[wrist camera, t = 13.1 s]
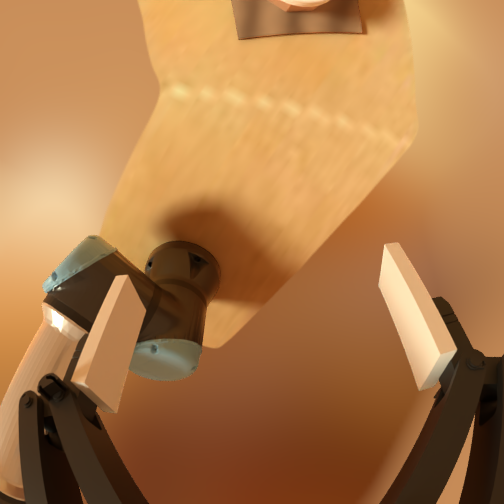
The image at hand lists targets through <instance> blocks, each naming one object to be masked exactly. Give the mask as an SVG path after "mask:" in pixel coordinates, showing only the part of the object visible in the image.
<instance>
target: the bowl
mask: <svg viewBox="0 0 504 504" xmlns="http://www.w3.org/2000/svg"><path fill="white" fill-rule="evenodd" d="M268 1H270V2H271V3H273V4H274V5H276V6H278V7H279V8H281V9H282V10H284V11H285V12H294V11H313V10H314V9H315V8H316V7H318V6H319V5H318V6H313V7H301V6H295V5H291V4H288V3H285V2H283V1H281V0H268Z"/></svg>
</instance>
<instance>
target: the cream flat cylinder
mask: <svg viewBox="0 0 504 504" xmlns="http://www.w3.org/2000/svg"><path fill="white" fill-rule="evenodd" d="M281 1H283V2H285V3H288V4H291V5H295V6H301V7H313V6H318V5H322V4H324V3H327V2H328V1H330V0H281Z"/></svg>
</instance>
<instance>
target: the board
mask: <svg viewBox="0 0 504 504" xmlns="http://www.w3.org/2000/svg"><path fill="white" fill-rule="evenodd" d="M231 1H232V6H233V12H234V17H235V23H236V29H237V34H238V39H239V40H240V39H247V38H255V37H263V36H273V35H284V34H299V33H362V26H361V19H360V12H359V6H358V0H330V1H328V2H327V3H324V4H322V5H319V6H318V7H316V8H315V9H314V10H313V11H294V12H285V11H284V10H282V9H281V8H279V7H278V6H276V5H274V4H273V3H271V2H270V1H268V0H231Z"/></svg>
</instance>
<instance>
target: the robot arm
mask: <svg viewBox="0 0 504 504" xmlns="http://www.w3.org/2000/svg"><path fill="white" fill-rule="evenodd" d="M117 250H118V249H117V248H114V247H112V246H111V245H110V244H108V243H107V242H106V241H105V240H103V239H102V238H101V237H99V236H97V235H90V236H88V237H86V238H85V239H84V240H83V241H82V242H81V243H80V244H79V245H78V246H77V247H76V248H75V249H74V250H73V251H72V252H71V253H70V254H69V255H68V256H67V257H66V258H65V259H64V260H63V262H62V263H61V264H60V265H59V266H58V267H57V268H56V269H55V271H54V272H53V273H52V274H51V275H50V276H49V277H48V278H47V279H46V281H45V282H44V283H43V285H42V288H43V289H44V292H45V293H48V295H47V296H46V298H45V299H44V301H43V302H42V309H43V314H44V321H43V322H42V324H41V326H40V328H39V329H38V331H37V333H36V335H35V337H34V338H33V340H32V342H31V344H30V346H29V347H28V350H27V351H26V353H25V355H24V357H23V359H22V361H21V363H20V365H19V367H18V369H17V371H16V373H15V375H14V377H13V379H12V381H11V383H10V386H9V388H8V390H7V392H6V394H5V397H4V399H3V401H2V404H1V406H0V504H83V501H82V497H81V493H80V489H81V491H82V493H83V495H84V497H85V499H86V501H87V503H88V504H149V503H148V502H147V500H146V499H145V497H144V496H143V494H142V493H141V491H140V489H139V488H138V486H137V485H136V483H135V482H134V480H133V478H132V477H131V475H130V473H129V472H128V470H127V468H126V467H125V465H124V463H123V461H122V460H121V458H120V456H119V454H118V452H117V450H116V449H115V447H114V445H113V443H112V441H111V439H110V437H109V435H108V433H107V431H106V429H105V427H104V425H103V423H102V421H101V419H100V416H99V415H98V413H97V412H96V408H97V406H98V407H99V408H100V409H101V410H102V411H104V412H110V413H117V411H118V407H119V403H120V399H121V394H122V391H123V387H124V383H125V380H126V376H127V372H128V369H129V370H131V371H132V372H133V373H135V374H137V375H139V376H142V377H145V378H148V379H152V380H159V381H175V380H180V379H184V378H186V377H188V376H190V375H191V374H193V373H194V372H195V371H196V369H197V367H198V363H199V358H200V355H201V353H202V342H203V334H204V326H205V318H206V310H207V306H208V305H209V303H210V302H211V300H212V299H213V297H214V296H215V294H216V293H217V291H218V288H219V284H220V268H219V265H218V263H217V261H216V260H215V258H214V257H213V256H212V255H211V254H210V253H209V252H208V251H206V250H205V249H203V248H202V247H200V246H198V245H195V244H192V243H189V242H183V241H173V242H168V243H165V244H162V245H160V246H158V247H157V248H156V249H155V250H153V252H152V253H151V254H150V256H149V258H148V261H147V263H146V266H145V274H144V273H143V272H142V271H140V270H139V269H138V268H137V267H136V266H134V265H133V264H132V263H131V262H130V261H129V260H128V259H126V258H125V257H124V256H123V255H122V254H121V253H120V252H119V251H117ZM378 286H379V288H380V290H381V293H382V295H383V297H384V299H385V302H386V304H387V306H388V309H389V311H390V314H391V316H392V319H393V321H394V324H395V326H396V329H397V331H398V334H399V336H400V339H401V341H402V344H403V347H404V350H405V352H406V355H407V358H408V361H409V363H410V366H411V369H412V372H413V374H414V378H415V381H416V384H417V387H418V390H419V391H421V390H424V389H427V388H430V387H434V386H435V384H436V383H437V381H438V380H439V382H440V384H441V388H440V389H439V390H438V392H437V393H436V395H435V396H434V398H435V402H434V404H433V406H432V409H431V411H430V413H429V416H428V418H427V420H426V422H425V424H424V427H423V429H422V431H421V433H420V435H419V437H418V439H417V441H416V443H415V445H414V447H413V449H412V451H411V452H410V454H409V456H408V458H407V460H406V462H405V463H404V465H403V467H402V469H401V470H400V472H399V474H398V476H397V477H396V479H395V480H394V482H393V484H392V485H391V487H390V488H389V490H388V491H387V493H386V495H385V496H384V498H383V499H382V501H381V502H380V503H379V504H436V502H437V501H438V499H439V497H440V495H441V493H442V491H443V489H444V487H445V485H446V484H447V482H448V479H449V477H450V475H451V473H452V471H453V469H454V467H455V464H456V462H457V460H458V457H459V455H460V453H461V450H462V448H463V445H464V443H465V440H466V438H467V435H468V432H469V429H470V427H471V423H472V421H473V418H474V415H475V421H474V430H473V437H472V444H471V451H470V456H469V462H468V467H467V472H466V477H465V481H464V486H463V490H462V493H461V497H460V501H459V504H504V355H503V356H502V357H485V356H484V354H483V353H482V352H480V351H478V350H475V349H473V347H472V346H471V344H470V341H469V339H468V338H467V336H466V334H465V332H464V330H463V328H462V326H461V324H460V322H458V319H457V317H456V315H455V314H454V311H453V309H452V308H451V306H450V304H449V303H448V302H447V301H446V300H445V299H443V298H442V297H436V298H432V299H431V297H430V295H429V293H428V292H427V290H426V288H425V286H424V284H423V282H422V281H421V279H420V277H419V276H418V274H417V272H416V270H415V269H414V267H413V266H412V264H411V262H410V261H409V259H408V257H407V256H406V254H405V253H404V251H403V249H402V248H401V246H400V245H399V243H391V244H385V245H384V252H383V260H382V266H381V273H380V279H379V285H378ZM79 487H80V489H79Z"/></svg>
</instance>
